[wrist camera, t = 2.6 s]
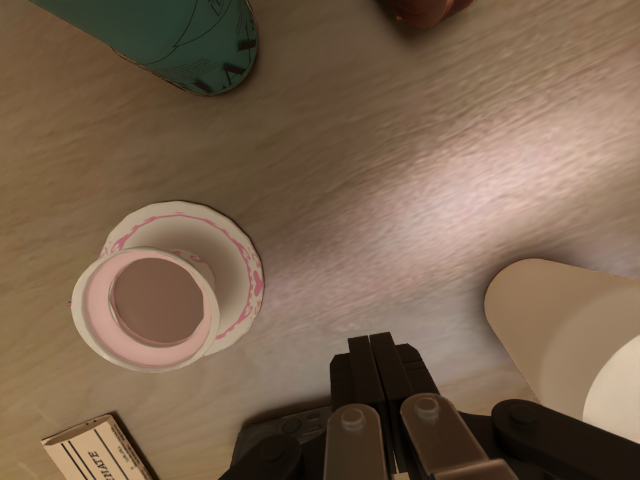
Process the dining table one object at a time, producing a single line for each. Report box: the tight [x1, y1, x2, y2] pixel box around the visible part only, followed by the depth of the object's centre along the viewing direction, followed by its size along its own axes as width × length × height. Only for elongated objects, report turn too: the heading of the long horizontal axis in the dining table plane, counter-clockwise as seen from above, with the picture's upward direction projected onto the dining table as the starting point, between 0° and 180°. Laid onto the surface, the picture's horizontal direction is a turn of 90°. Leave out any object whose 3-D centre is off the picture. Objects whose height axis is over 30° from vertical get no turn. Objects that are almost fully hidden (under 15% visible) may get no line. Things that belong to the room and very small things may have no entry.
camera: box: [230, 405, 395, 480], centre depth 25 cm, size 11×6×10 cm, turn 103°
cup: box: [484, 258, 640, 444], centre depth 21 cm, size 9×9×12 cm
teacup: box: [67, 201, 265, 373], centre depth 24 cm, size 12×12×6 cm
